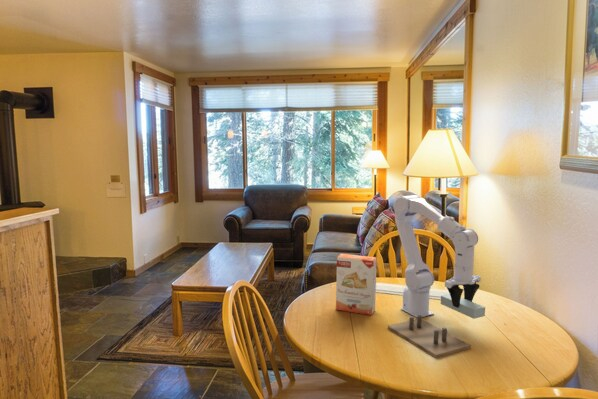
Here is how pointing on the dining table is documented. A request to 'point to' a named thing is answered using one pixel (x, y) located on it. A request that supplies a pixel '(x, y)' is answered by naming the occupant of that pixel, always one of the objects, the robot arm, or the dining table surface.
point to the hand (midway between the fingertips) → (461, 305)
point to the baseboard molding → (400, 288)
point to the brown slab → (429, 337)
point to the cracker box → (356, 283)
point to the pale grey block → (464, 307)
